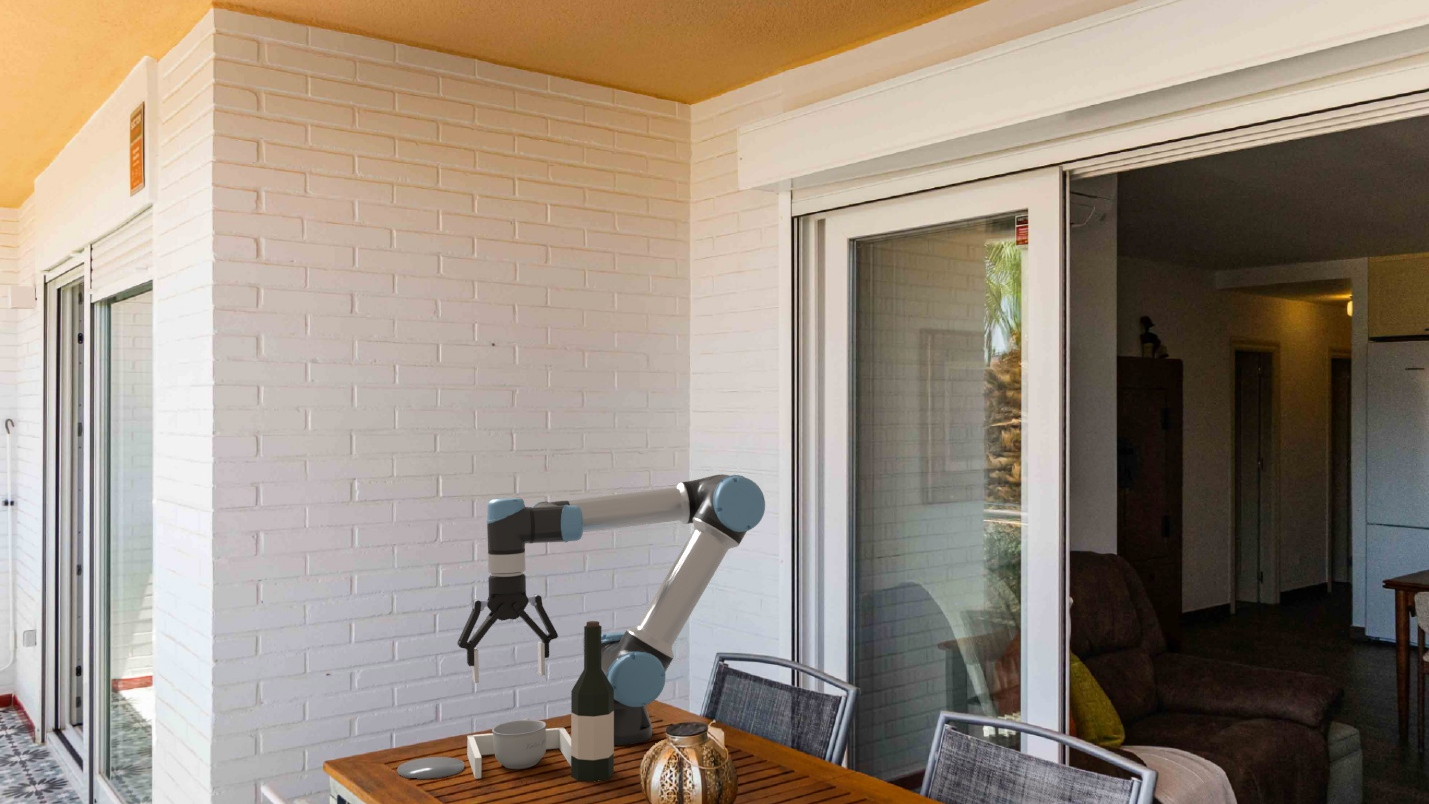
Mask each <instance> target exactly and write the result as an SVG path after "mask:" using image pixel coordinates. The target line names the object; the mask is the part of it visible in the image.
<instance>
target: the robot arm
mask: <svg viewBox="0 0 1429 804" xmlns="http://www.w3.org/2000/svg"><path fill="white" fill-rule="evenodd" d="M765 511H766V500H765V496H764V493H763V491H762V489H761V487H760V486H759V485H758V484H757V483H756V482H755V481H753V480H752V479H750V478H747V477H745V476H743V475H740V474H739V475H738V474H733V475H729V474H723V473H722V474H715V475H710V476H706V477H703V478H702V477H701V478H697V479H694V480H693V479H692V480H688V481H681V482H678V483H677V485H675V486H673V487H667V488H660V489H659V488H658V489H651V490H643V491H632V492H624V493H617V494H608V495H600V496H592V497H583V498H575V499H567V500H558V501H540V502H537V503H535V504H534V505H532V506H526V504H525V501H524V499H523V498H521V497H520V498H519V497H505V498H504V497H502V498H493V499H491V500H489V501H488V504H487V517H486V518H487V519H486V529H487V531H486V532H487V533H486V535H487V556H488V557H487V560H488V561H487V562H488V563H487V564H488V565H487V567H488V568H487V572H488V573H489V574H490V575H489V577H488V578H487V579H488V580H487V581H488V598H487V599H486V600H482V599H481V600H480V599H477V598H475V599H473V601H472V609H471V612H470V614H469V617H468V618H467V621H466V623H465V625H464V627H463V629H462V632H461V633H460V636H459V637H458V638H459V639H458V641H457V642H456V644H457V646H458V647H459V648H461V649H465V650H466V664H467V666H469V667H472V668H471V669H472V670H471V671H472V676H471V677H472V682H473V683H474V684H479V683H480V678H479V677H480V676H479V675H480V674H479V673H480V671H479V670H480V668H479V667H480V666H479V649H477V648H476V647H477V645H478V644H479V643H480V642H481V640H482V639H483V638H484V637H485V636H486V634H487V633H488V632H489V630H490V629H491V627H492V626H493V625H494V624H495V623H496V622H497V620H499V621H507V620H512V621H513V620H517V619H518V618H521V619H522V621H524V623H525V624H526V625H527V626H528V627H529V629H531V630H532V632H534V633H535V635H536V636H537V637H538V638H539V639H540V640H541V641H537V669H538V670H537V671H538V672H537V674H538V675H540V676H543V677H544V676H546V659H549V657H550V643H551V641H553V640H555V639H558V637H559V634H558V633H557V630H556V629H555V627H554V624H553V623H552V620H551V619H550V617H549V615H548V613H547V611H546V610H545V607H544V606H543V598H542V596H541V595H539V594H537V593H535V594H533V595H532V596H527V585H526V583H527V580H526V577H527V576H526V575H525V573H524V572H525V571H526V548H525V547H526V545H527V544H537V543H538V544H540V543H541V544H543V543H569V542H575V541H577V542H578V541H579V540H581V539H582V537H583V533H587V532H597V531H604V530H605V531H606V530H611V529H613V530H614V529H622V528H629V527H637V526H643V525H652V524H661V523H662V524H663V523H669V522H675V521H676V522H677V521H678V522H680V523H682V524H683V525H688V524H693V531H692V533H691V534H690V536H689V537H688V539H687V541H686V543H685V544H684V546H683V547H682V549H681V552H680V553H679V554H678V556H677V558H676V560H675V562H673V565H672V566H671V568H670V570H669V571H668V573H667V575H666V577H665V578H664V580H663V581H662V583H661V585H660V587H659V588H658V589H657V590H658V591H657V592H656V593H655V595H654V597H653V599H652V601H651V602H650V603H649V605H648V607H647V609H645V610H646V611H645V612H644V614H643V616H642V617H641V618H640V620H639V623H638V624H637V625H635V626H633V627H630V628H627V629H626V630H625V631H620V632H618V631H617V632H603V633H602V632H601V669H602V670H603V672H604V674H605V675H606V677H607V679H608V680H609V682H610V684H611V685H612V687H613V689H614V746H626V745H634V744H640V743H643V742H646V741H648V740H650V739H651V738H652V737H653V733H652V732H653V727H652V721H651V719H650V716H649V713H648V709H647V707H646V706H647V705H650V704H651V703H653V702H654V701H655V700H657V699H658V697H659V696H660V695H661V694H662V692H663V690H664V688H665V684H666V671H667V670H668V668H669V667H670V665H671V663H672V661H673V660H674V652H673V645H674V644H675V642H676V640H677V638H678V636H679V635H680V633H681V631H682V629H684V626H685V624H686V623H687V621H688V619H689V617H690V616H691V614H692V613H693V611H694V609H695V607H696V606H697V604H698V602H699V601H700V599H701V597H702V596H703V594H704V592H705V591H706V589H707V586H708V585H709V584H710V581H711V580H712V578H713V576H714V575H715V573H716V572H717V570H718V568H719V566H720V564H721V563H722V561H723V559H724V558H725V556H726V554H727V553H728V551H729V550H730V549H733V548H737V547H739V545H740V544H741V542H742V541H743V539H744V538H745V535H746V534H747V532H748V531H751V530H752V529H754V528H755V527H756V526H758V525H759V524H760V522H761V521H762V519H763V517H764V515H765ZM529 603H530V605H531V606H532V607H534V609H535V611H536V613H537V614H538V616H539V618H540V621H541V622H542V623H543V626H544V628H545V630H546V631H547V633H545V632H544V631H543V630H542V629H541V628H540V626H539V625H538V624H537V623H536V622H535V621H534V620H533V619H532V618H531V616H530V615H529V614H528V613H527V612H526V611H525V609H526V607H527V606H528V604H529ZM486 607H487V608H488V610H489V611H490V612H489V613H488V614H487V616H486V618H485V619H484V620H483V622H482V623H481V624H480V626H479V627H478V629H476V631H475V633H474V634H473V635H472V636H471V634H472V632H473V630H474V628H475V625H476V623H477V622H478V620H479V617H480V615H481V612H483V611H484V610H485V608H486ZM470 637H471V638H470Z"/></svg>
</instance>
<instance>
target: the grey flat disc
mask: <svg viewBox="0 0 1429 804" xmlns="http://www.w3.org/2000/svg"><path fill="white" fill-rule="evenodd" d="M464 769H465V762H464V761H463V760H461V759H458V758H454V757H447V756H429V757H428V756H427V757H421V758H415V759H411V760H409V761H406V762H403V763H401V764H400V765H398V767H397V770H396V771H397V772H398V773H397V775H399V776H400V775H401V776H400V777H402V776H403V777H402V778H405V779H410V778H417V779H416V780H429V779H428V778H437V779H442V777H443V778H447V776H448V777H451V776H454V775H457V774H459V773H461V772H462V771H463V770H464Z"/></svg>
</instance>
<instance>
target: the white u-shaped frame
mask: <svg viewBox="0 0 1429 804" xmlns="http://www.w3.org/2000/svg"><path fill="white" fill-rule="evenodd" d="M466 739H467V741H466V742H467V743H466V744H467V745H466V749H467V750H466V753H467V759H468V762H469V764H470V767H471V772H472V774H473V777H474V779H475V780H476V779H477V780H478V779H482V756H487V755H488V756H489V755H495V753H494V743H493V732H492V733H481V734H467V737H466ZM552 749H553V750H554V749H555V750H556V749H559V750H560V751H561V753H562V755H563V756H564V758H565V760H566V761H567V763H568V765H569V766H570V767H571V735H570V734H569V732H568V731H567V730H566V729H565V727H555V728H553V727H552V728H546V750H552Z"/></svg>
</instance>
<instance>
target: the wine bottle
mask: <svg viewBox="0 0 1429 804" xmlns="http://www.w3.org/2000/svg"><path fill="white" fill-rule="evenodd" d="M602 629H603V627H602V625H600V621H597V620H596V621H595V620H589V621H587V622H586V625H585V626H583V638H584V639H583V671H581V673H580V675H579V677H578V679H577V680H576V682H575V684H574V686H573V688H572V689H571V693H570V694H571V695H570V696H571V698H570V699H571V703H570V705H571V711H570V712H571V714H570V716H571V718H570V719H571V720H570V721H571V726H570V729H571V730H570V731H571V732H570V737H571V766H570V767H571V768H570V777H571V778H573V779H574V780H576V781H577V782H586V781H587V783H589V782H590V783H595V782H594V781H597V782H599V781H598V780H602V781H606V779H608V780H610V779H611V778H612V777H613V776H614V775H613V774H615V772H614V771H615V770H614V769H615V768H614V766H615V765H614V764H615V762H614V759H615V756H614V755H615V750H614V749H615V745H614V689H613V687H612V685H611V684H610V682H609V680H608V679H607V677H606V675H605V674H604V672H603V670H602V669H601V633H602V631H603V630H602ZM612 775H613V776H612ZM611 776H612V777H611Z"/></svg>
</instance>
